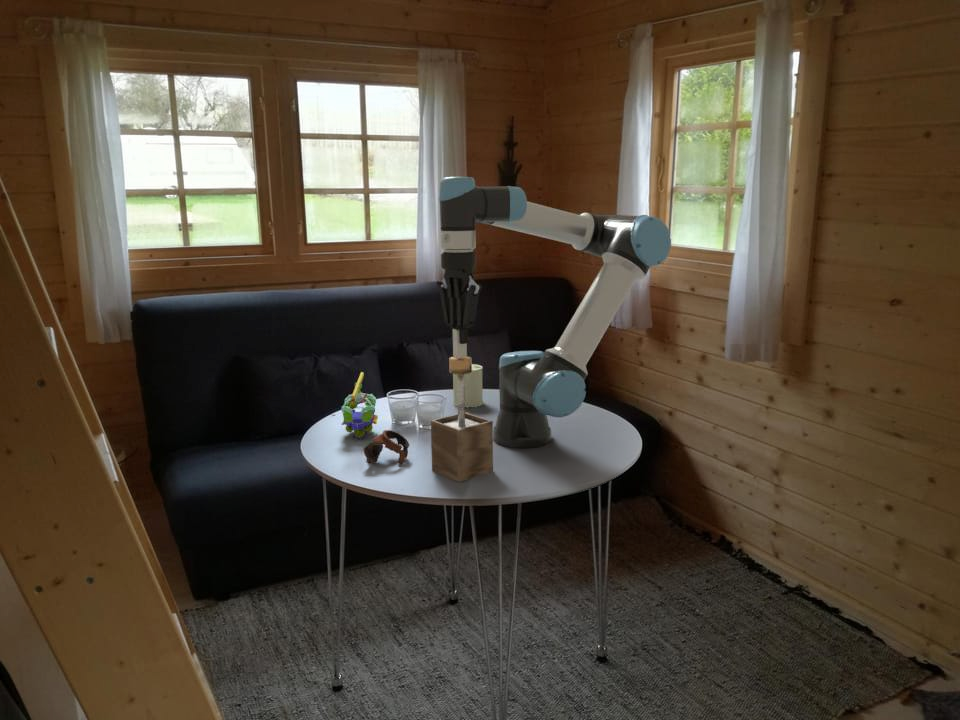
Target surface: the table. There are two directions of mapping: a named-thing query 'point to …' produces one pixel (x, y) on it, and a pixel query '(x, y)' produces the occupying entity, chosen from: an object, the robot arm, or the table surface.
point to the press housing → (462, 448)
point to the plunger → (460, 390)
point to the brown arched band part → (386, 446)
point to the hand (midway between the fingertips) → (460, 357)
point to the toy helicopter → (359, 419)
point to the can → (470, 387)
